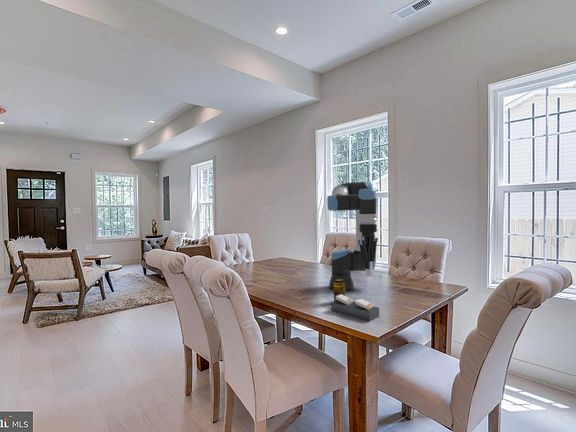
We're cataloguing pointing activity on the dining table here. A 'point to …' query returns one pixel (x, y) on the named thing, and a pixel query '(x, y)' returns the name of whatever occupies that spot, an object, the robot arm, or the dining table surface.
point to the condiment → (339, 288)
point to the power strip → (355, 310)
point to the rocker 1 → (344, 299)
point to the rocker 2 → (364, 304)
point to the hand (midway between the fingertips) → (369, 275)
